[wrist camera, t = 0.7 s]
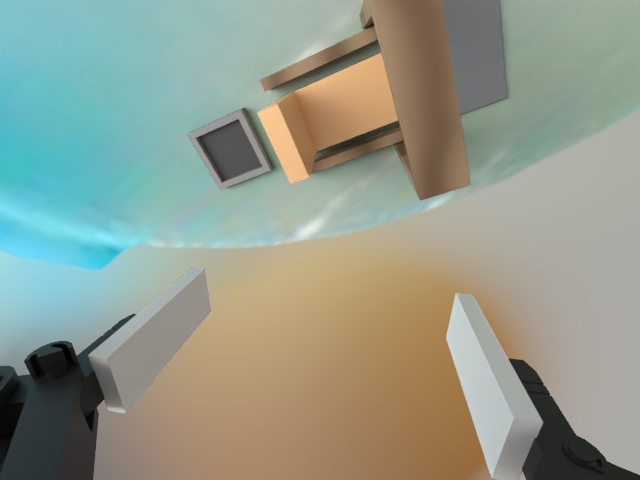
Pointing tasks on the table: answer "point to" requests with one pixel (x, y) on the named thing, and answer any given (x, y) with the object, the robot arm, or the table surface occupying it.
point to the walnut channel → (405, 93)
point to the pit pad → (230, 149)
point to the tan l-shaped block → (328, 114)
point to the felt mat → (476, 51)
